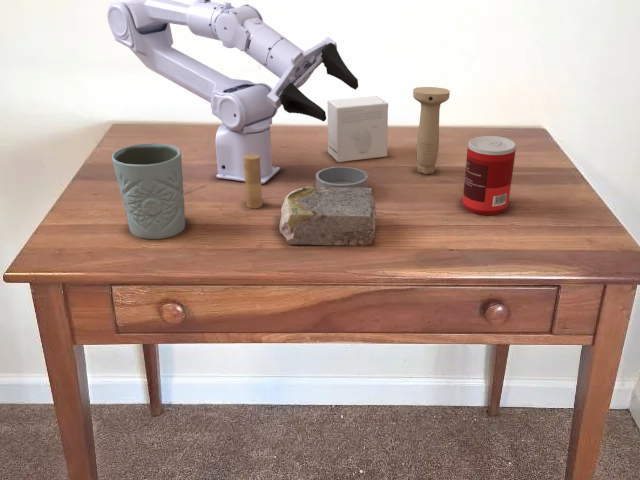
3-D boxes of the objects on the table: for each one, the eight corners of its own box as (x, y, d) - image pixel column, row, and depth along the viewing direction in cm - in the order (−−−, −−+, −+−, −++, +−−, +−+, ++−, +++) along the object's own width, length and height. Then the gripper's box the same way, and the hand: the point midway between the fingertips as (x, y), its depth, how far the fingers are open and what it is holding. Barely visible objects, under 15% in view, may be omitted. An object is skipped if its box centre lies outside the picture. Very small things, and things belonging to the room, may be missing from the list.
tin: (308, 197, 128) (308, 181, 126) (325, 179, 135) (325, 164, 134) (358, 204, 126) (359, 187, 124) (373, 185, 133) (373, 169, 132)
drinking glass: (156, 247, 111) (145, 169, 104) (109, 231, 115) (96, 155, 109) (203, 223, 118) (195, 150, 112) (156, 209, 123) (146, 138, 116)
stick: (244, 207, 124) (240, 158, 119) (250, 201, 126) (247, 152, 122) (258, 209, 123) (255, 159, 119) (264, 203, 126) (262, 154, 121)
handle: (442, 177, 137) (449, 95, 129) (408, 175, 138) (412, 93, 130) (443, 168, 141) (450, 88, 133) (409, 166, 142) (414, 86, 134)
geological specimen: (380, 215, 110) (278, 210, 108) (376, 251, 113) (277, 248, 112) (374, 186, 119) (280, 181, 117) (371, 220, 122) (279, 217, 121)
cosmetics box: (375, 146, 151) (377, 94, 145) (387, 157, 146) (389, 103, 140) (326, 152, 148) (326, 98, 142) (337, 162, 143) (337, 107, 137)
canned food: (511, 201, 128) (519, 138, 122) (503, 219, 122) (511, 153, 116) (467, 195, 130) (473, 133, 124) (457, 212, 124) (463, 147, 118)
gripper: (243, 68, 116) (306, 116, 113) (305, 9, 119) (369, 54, 116) (251, 96, 123) (312, 141, 119) (310, 39, 125) (371, 82, 122)
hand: (340, 100), depth 118 cm, fingers open, 7 cm apart
